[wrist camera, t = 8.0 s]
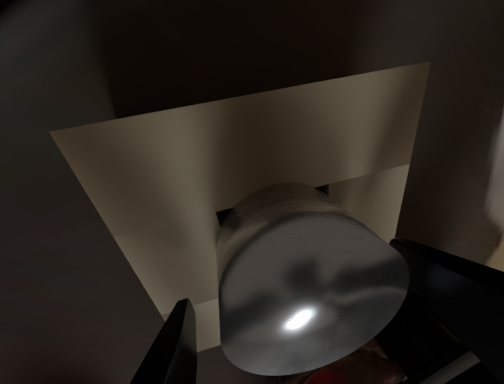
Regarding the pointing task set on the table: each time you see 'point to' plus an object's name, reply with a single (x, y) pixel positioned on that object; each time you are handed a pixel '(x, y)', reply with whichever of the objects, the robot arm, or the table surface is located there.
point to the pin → (301, 281)
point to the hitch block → (243, 171)
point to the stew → (352, 369)
